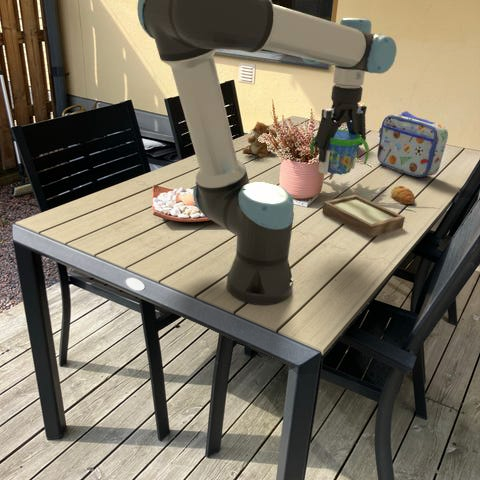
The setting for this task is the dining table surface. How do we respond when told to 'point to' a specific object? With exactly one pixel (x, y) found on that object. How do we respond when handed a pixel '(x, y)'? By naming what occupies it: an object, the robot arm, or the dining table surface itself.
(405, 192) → the pastry
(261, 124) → the stuffed squirrel
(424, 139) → the lunch box
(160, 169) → the dining table surface
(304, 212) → the dining table surface
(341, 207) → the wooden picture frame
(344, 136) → the snack cup
